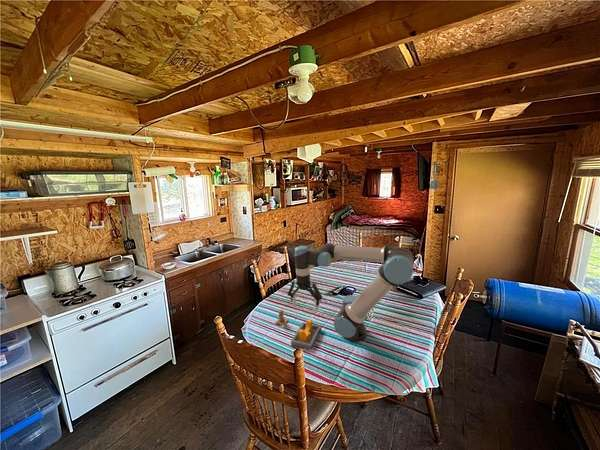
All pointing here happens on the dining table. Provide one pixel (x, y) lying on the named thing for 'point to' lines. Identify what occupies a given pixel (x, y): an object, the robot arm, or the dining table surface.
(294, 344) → the tray
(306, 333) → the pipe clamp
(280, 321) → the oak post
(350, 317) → the robot arm
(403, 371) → the dining table surface
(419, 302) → the dining table surface
